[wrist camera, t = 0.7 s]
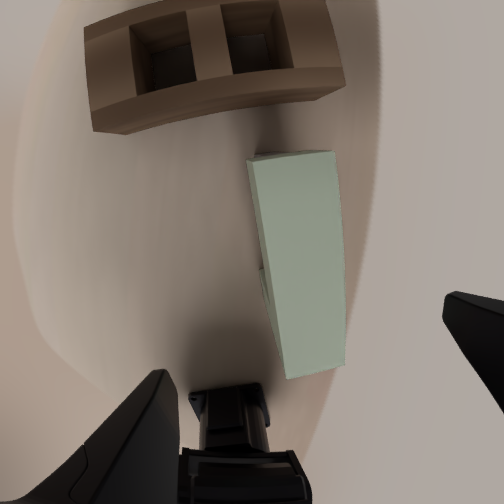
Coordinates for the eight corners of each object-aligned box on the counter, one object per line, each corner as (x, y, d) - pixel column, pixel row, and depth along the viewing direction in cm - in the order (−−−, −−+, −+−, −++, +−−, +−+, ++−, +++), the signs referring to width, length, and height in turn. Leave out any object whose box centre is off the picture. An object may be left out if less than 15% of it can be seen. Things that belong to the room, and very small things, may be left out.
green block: (305, 292, 21) (344, 364, 13) (264, 301, 21) (286, 379, 13) (287, 149, 17) (334, 150, 10) (239, 157, 17) (252, 161, 10)
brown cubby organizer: (314, 100, 16) (345, 85, 12) (125, 134, 16) (93, 131, 11) (297, 20, 14) (320, -14, 10) (114, 52, 14) (83, 27, 9)
